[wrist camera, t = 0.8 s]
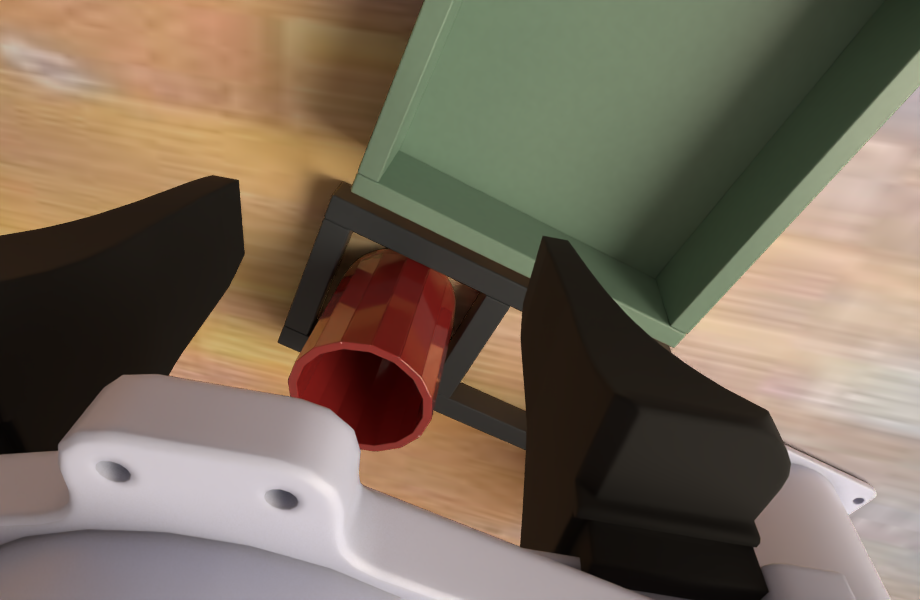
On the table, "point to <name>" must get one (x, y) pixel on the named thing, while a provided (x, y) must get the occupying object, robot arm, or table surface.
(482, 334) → the frame
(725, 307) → the table surface
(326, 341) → the cup
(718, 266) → the basin
